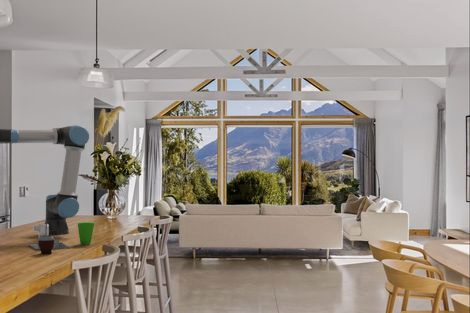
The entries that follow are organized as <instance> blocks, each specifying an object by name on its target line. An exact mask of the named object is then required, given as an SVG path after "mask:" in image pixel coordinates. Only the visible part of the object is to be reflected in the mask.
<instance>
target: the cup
mask: <svg viewBox="0 0 470 313" xmlns="http://www.w3.org/2000/svg"><path fill="white" fill-rule="evenodd" d="M76 224H77V229H78V230H77V231H78V236H79V243H80V245H81V244H89V245H91V243H92V238H93V233H94V229H95V228H94V227H95V222H91V221H90V222H89V221H84V222H77V223H76Z"/></svg>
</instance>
